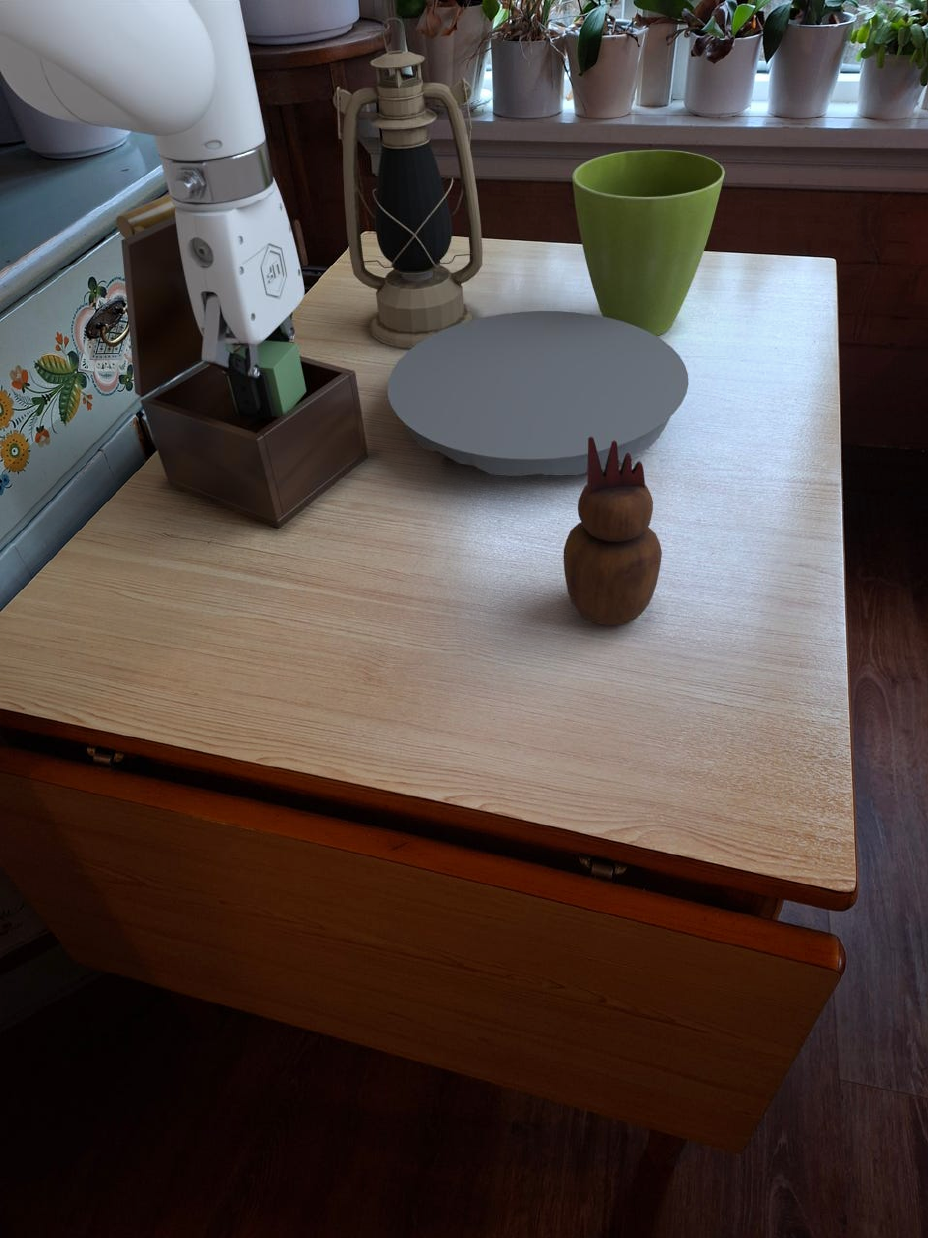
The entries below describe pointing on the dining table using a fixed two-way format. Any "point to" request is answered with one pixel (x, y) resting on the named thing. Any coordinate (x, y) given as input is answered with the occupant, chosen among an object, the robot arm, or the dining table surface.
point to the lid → (157, 297)
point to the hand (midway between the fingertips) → (270, 397)
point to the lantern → (410, 202)
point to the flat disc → (537, 391)
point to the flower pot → (645, 230)
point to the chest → (257, 441)
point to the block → (280, 373)
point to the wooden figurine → (612, 543)
